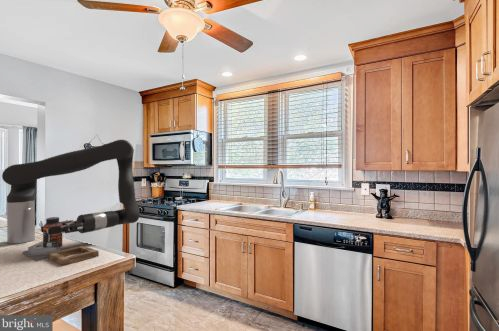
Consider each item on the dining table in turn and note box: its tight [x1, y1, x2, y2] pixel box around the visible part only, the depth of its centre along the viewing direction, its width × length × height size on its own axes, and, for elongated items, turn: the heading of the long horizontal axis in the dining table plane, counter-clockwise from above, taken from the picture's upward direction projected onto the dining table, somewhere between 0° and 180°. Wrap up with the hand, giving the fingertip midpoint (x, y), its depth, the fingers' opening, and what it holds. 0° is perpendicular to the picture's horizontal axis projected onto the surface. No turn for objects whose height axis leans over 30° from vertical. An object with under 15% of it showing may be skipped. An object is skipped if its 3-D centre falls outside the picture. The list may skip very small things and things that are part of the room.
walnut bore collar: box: [48, 245, 100, 266], centre depth 96 cm, size 12×11×2 cm
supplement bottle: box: [42, 216, 63, 249], centre depth 103 cm, size 6×6×11 cm
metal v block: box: [22, 240, 63, 262], centre depth 100 cm, size 15×9×3 cm, turn 55°
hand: (45, 230), depth 101 cm, fingers open, 6 cm apart
